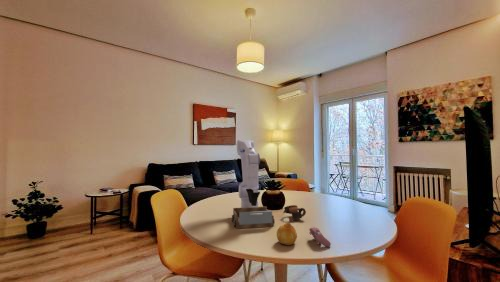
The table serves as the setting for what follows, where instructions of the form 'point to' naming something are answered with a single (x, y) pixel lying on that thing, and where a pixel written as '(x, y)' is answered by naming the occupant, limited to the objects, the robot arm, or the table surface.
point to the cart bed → (249, 209)
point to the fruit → (286, 234)
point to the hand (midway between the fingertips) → (252, 204)
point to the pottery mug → (294, 212)
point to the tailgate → (255, 217)
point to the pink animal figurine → (319, 237)
